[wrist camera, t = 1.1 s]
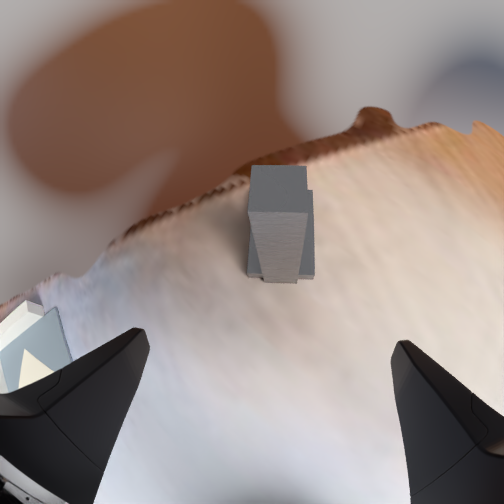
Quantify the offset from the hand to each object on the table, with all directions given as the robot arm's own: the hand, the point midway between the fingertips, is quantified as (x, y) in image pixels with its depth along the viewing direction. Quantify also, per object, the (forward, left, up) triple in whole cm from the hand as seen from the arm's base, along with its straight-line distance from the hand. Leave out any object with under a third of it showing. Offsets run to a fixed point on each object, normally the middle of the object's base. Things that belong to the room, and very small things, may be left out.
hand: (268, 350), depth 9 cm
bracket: (+9, -6, -14) cm, 17 cm away
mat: (+8, +27, -14) cm, 31 cm away
